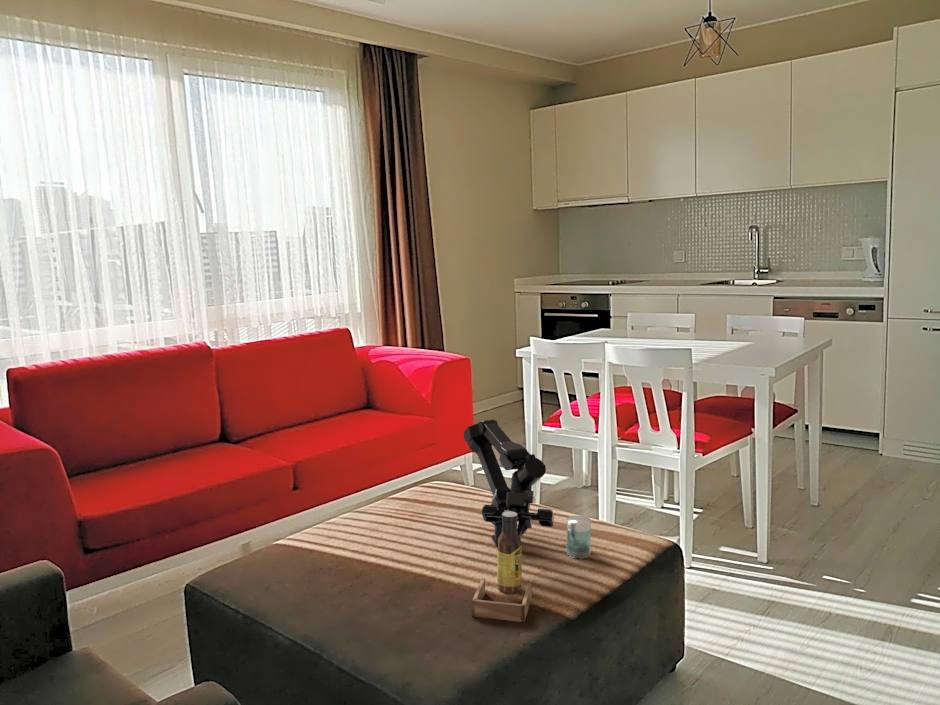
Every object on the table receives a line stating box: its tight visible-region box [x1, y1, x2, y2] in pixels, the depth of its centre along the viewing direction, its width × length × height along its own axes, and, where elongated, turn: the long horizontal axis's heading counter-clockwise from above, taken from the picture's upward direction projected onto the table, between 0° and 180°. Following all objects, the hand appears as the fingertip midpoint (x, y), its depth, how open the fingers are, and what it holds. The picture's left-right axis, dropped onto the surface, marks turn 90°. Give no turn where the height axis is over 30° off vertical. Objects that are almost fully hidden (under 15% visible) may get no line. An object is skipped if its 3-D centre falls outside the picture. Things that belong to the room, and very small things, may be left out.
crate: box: [471, 577, 533, 623], centre depth 191 cm, size 12×13×4 cm
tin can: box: [566, 515, 592, 559], centre depth 220 cm, size 7×7×10 cm
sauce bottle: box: [496, 511, 523, 594], centre depth 199 cm, size 7×6×20 cm
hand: (514, 546), depth 205 cm, fingers closed
